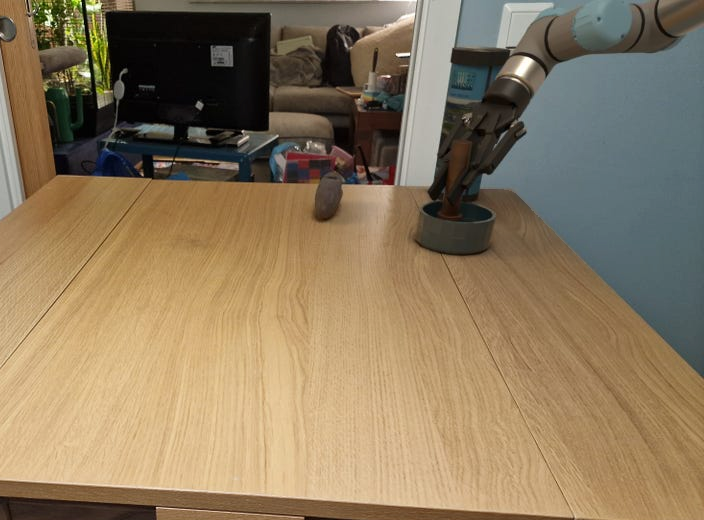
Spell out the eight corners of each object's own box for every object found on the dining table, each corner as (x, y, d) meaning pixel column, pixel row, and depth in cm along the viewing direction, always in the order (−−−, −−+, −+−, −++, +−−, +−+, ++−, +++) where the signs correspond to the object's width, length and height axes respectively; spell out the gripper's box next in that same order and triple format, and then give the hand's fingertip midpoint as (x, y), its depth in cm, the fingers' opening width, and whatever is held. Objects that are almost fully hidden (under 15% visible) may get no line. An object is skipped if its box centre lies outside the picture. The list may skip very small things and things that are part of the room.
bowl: (504, 249, 120) (512, 216, 117) (448, 260, 115) (455, 227, 112) (453, 227, 130) (459, 197, 127) (399, 237, 125) (404, 206, 122)
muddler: (466, 221, 121) (481, 142, 114) (447, 225, 119) (462, 145, 112) (449, 214, 124) (463, 138, 117) (431, 218, 123) (443, 140, 116)
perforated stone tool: (332, 225, 131) (335, 190, 127) (306, 222, 132) (308, 188, 129) (344, 203, 143) (347, 171, 140) (320, 201, 145) (322, 169, 141)
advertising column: (482, 192, 151) (512, 48, 136) (477, 205, 142) (508, 53, 127) (432, 186, 155) (455, 45, 140) (424, 199, 146) (448, 50, 131)
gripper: (559, 111, 115) (486, 222, 115) (477, 99, 127) (410, 200, 126) (551, 80, 110) (474, 197, 109) (466, 71, 121) (396, 176, 120)
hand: (440, 198), depth 118 cm, fingers closed on muddler, 3 cm apart
